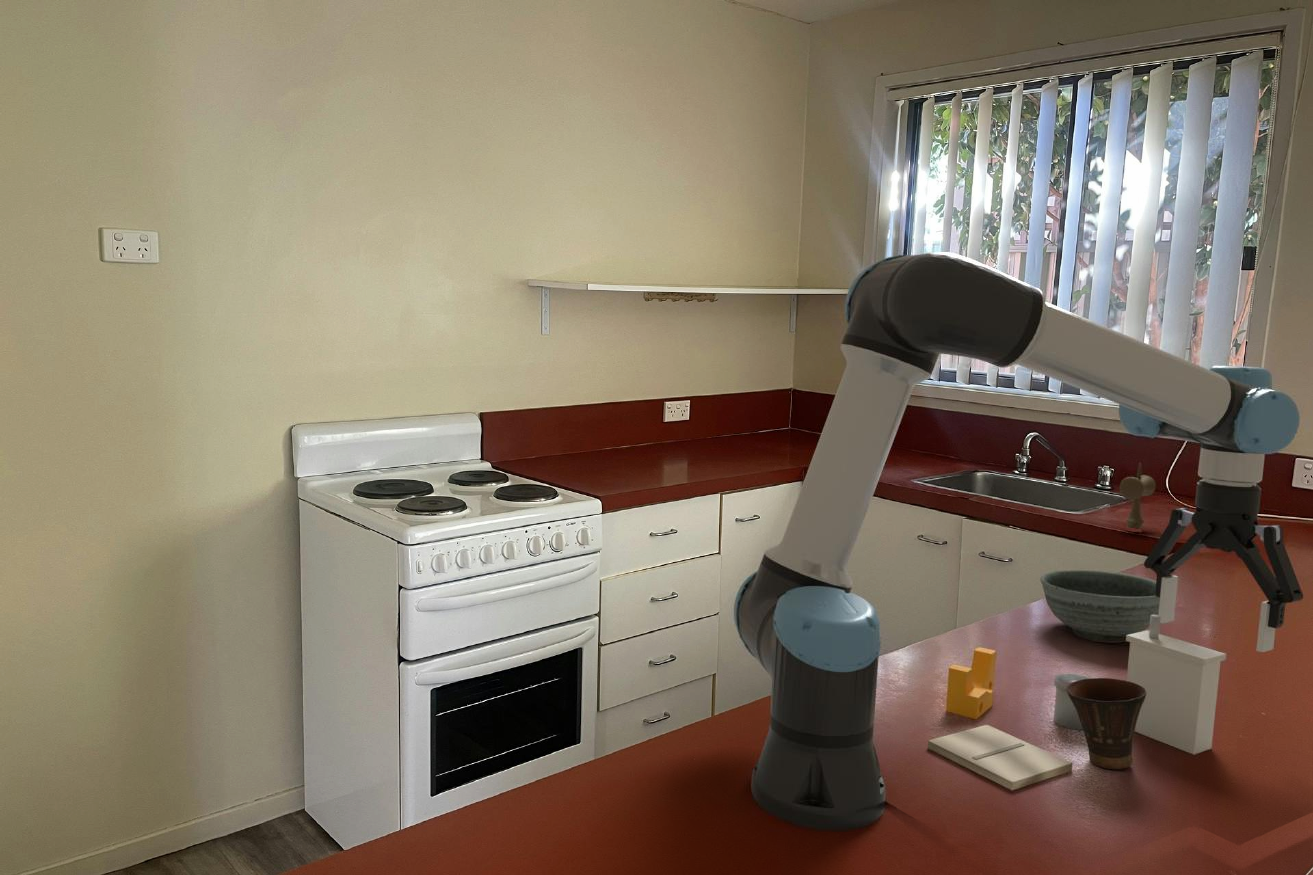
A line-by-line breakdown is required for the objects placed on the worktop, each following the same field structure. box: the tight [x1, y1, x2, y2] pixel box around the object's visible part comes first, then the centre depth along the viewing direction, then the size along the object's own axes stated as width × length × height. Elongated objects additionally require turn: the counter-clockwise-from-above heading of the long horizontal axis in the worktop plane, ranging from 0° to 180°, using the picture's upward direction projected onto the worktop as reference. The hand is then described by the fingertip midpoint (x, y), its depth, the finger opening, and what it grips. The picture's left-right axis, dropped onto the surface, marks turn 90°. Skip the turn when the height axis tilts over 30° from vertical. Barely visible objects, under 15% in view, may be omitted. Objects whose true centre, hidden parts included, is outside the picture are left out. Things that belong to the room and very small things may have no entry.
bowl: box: [1039, 569, 1160, 643], centre depth 178 cm, size 21×21×10 cm
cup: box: [1066, 677, 1146, 770], centre depth 126 cm, size 9×9×10 cm
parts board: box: [927, 724, 1073, 791], centre depth 126 cm, size 11×13×1 cm
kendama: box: [1119, 462, 1157, 529], centre depth 262 cm, size 6×10×20 cm, turn 133°
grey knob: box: [1053, 672, 1092, 731], centre depth 138 cm, size 6×6×6 cm
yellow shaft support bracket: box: [945, 646, 997, 720], centre depth 144 cm, size 12×4×6 cm, turn 143°
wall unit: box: [1125, 615, 1227, 756], centre depth 134 cm, size 5×11×16 cm, turn 32°
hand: (1213, 635), depth 138 cm, fingers open, 13 cm apart
